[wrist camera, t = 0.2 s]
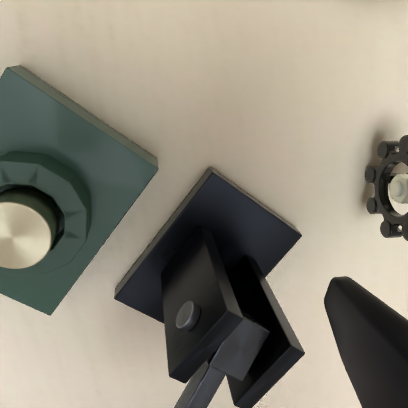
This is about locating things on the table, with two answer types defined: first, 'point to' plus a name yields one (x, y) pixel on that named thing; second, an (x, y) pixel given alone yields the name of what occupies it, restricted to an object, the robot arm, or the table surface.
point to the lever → (225, 363)
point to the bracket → (216, 283)
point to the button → (26, 227)
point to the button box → (64, 180)
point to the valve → (399, 187)
